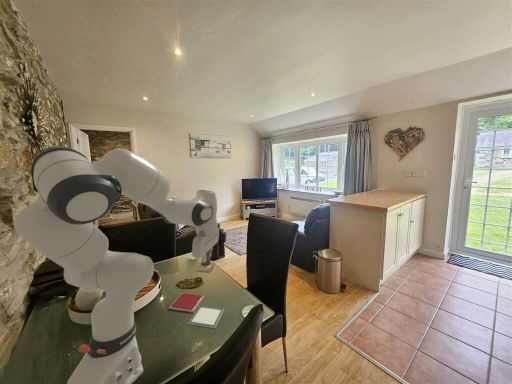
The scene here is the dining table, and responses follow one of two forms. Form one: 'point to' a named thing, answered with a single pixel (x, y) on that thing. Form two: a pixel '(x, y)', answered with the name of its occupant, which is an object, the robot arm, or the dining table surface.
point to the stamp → (206, 265)
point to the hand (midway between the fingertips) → (206, 259)
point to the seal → (190, 283)
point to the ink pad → (187, 302)
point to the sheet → (206, 316)
